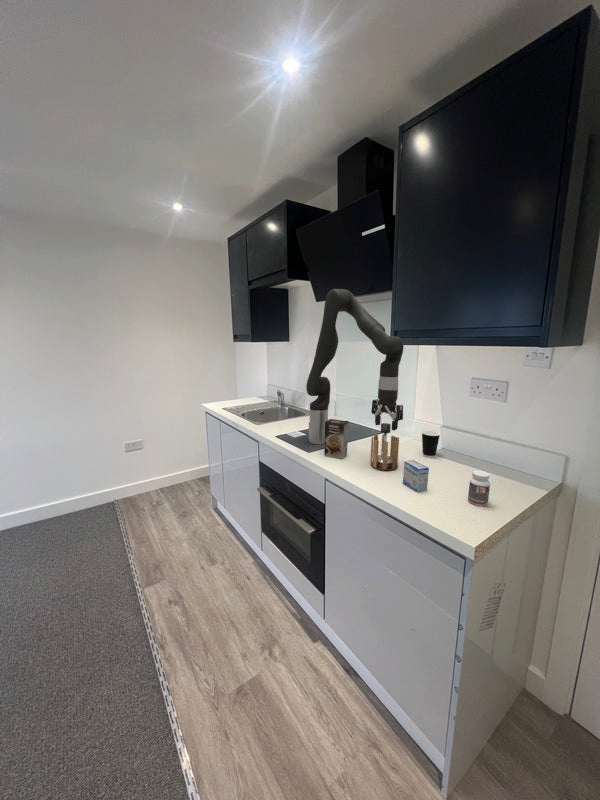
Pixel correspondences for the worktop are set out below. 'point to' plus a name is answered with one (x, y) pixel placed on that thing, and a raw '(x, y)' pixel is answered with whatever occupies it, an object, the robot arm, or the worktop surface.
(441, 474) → the worktop surface
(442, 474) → the worktop surface
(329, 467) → the worktop surface
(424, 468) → the medicine box
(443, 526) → the worktop surface
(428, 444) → the dixie cup
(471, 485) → the pill bottle
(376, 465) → the press carafe
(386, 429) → the plunger
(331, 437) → the coffee box
